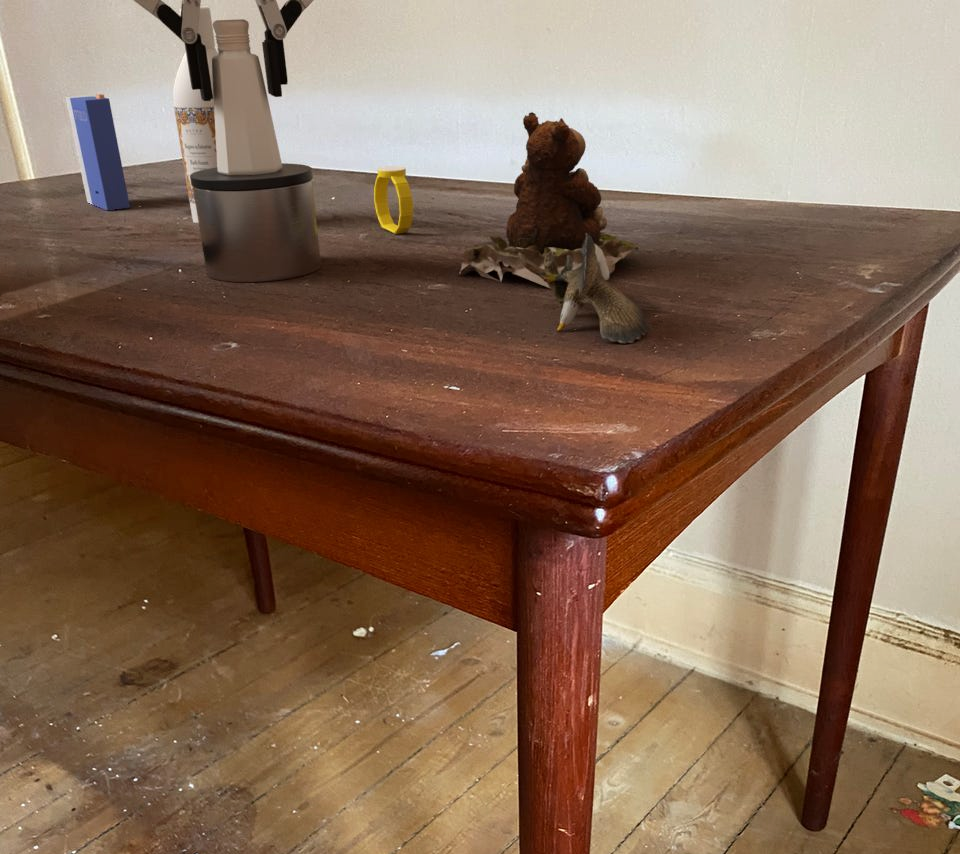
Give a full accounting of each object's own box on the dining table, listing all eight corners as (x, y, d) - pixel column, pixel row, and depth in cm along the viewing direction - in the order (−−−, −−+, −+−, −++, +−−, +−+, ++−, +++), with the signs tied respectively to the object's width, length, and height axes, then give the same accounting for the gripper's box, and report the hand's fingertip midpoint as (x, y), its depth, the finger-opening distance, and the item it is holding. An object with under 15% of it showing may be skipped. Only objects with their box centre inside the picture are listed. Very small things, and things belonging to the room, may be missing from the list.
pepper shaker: (247, 165, 91) (227, 19, 86) (295, 168, 89) (278, 17, 83) (204, 174, 88) (180, 21, 82) (254, 177, 85) (233, 19, 79)
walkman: (130, 208, 124) (108, 94, 118) (107, 211, 123) (84, 96, 117) (109, 200, 130) (87, 92, 124) (87, 203, 129) (63, 93, 122)
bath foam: (180, 229, 111) (143, 9, 100) (217, 217, 116) (184, 8, 106) (236, 231, 109) (204, 7, 98) (271, 219, 114) (243, 6, 104)
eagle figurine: (494, 308, 73) (563, 310, 66) (533, 211, 73) (607, 201, 65) (576, 354, 77) (649, 360, 70) (614, 262, 77) (692, 258, 69)
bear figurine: (671, 261, 90) (681, 102, 83) (556, 295, 81) (557, 120, 75) (552, 243, 98) (552, 98, 92) (435, 272, 89) (427, 113, 83)
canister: (181, 277, 91) (163, 177, 87) (254, 254, 98) (241, 161, 94) (276, 286, 87) (262, 182, 82) (344, 261, 94) (335, 165, 90)
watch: (369, 229, 108) (364, 166, 104) (393, 225, 109) (389, 163, 106) (396, 237, 103) (391, 172, 100) (421, 234, 104) (417, 169, 101)
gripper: (310, -175, 81) (335, 89, 91) (81, -176, 77) (132, 101, 86) (328, -191, 75) (353, 94, 84) (81, -193, 71) (135, 107, 80)
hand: (241, 95), depth 85 cm, fingers open, 4 cm apart
